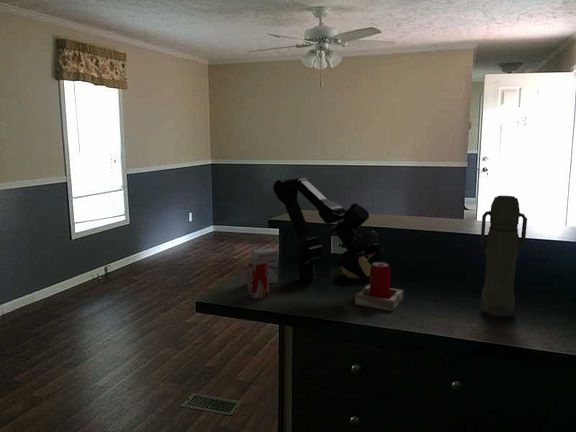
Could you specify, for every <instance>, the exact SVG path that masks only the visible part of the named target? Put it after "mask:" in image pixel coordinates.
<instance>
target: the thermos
mask: <svg viewBox="0 0 576 432" xmlns="http://www.w3.org/2000/svg"><path fill="white" fill-rule="evenodd" d="M520 211H521V209H520V204H519V199H518V198H517V197H515V196H513V195H497V196H494V198H493V199H492V202H491V206H490V210H489V211H485V212H484V213H483V215H482V218H481V231H480V246H481V247H484V248H485V251H484V252H485V255H486V263H485V264H486V265H485V275H484V276H485V278H484V286H483V288H482V292H481V304H482V305H481V312H482V313H484V314H485V315H488V316H491V317H495V318H510V317H512V316H513V315H514V307H515V302H516V295H515V290H514V287H515V276H516V266H517V264H516V263H517V259H518V257H519V251H520V250H523V249H524V248H525V246H526V235H527V224H528V217H527V216H525V213H522V212H520ZM487 216H490V218H489V225H490V226H489V230H488V233H487V235H486V238H485V234H486V220H487V219H486V218H487ZM520 217H521V218H522V226H521V235H520V236H519V228H518V226H519V220H520ZM485 239H486V240H485Z"/></svg>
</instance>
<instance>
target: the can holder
mask: <svg viewBox="0 0 576 432" xmlns="http://www.w3.org/2000/svg"><path fill="white" fill-rule="evenodd" d="M403 300H404V289H400V288H392V287H390V298H389V299H385V298H379V297H373V296H370V284H367V285H366V286H365V287H364V288H362V289H361V290H360V291H358V292H357V293H356V294H355V300H354V301H355V302H354V303H355V305H357V306H363V307H367V308H368V307H369V308H374V309H381V310H385V311H392V312H394V310H395V309H396V308H397V307H398V305H399V304H401V302H402V301H403Z"/></svg>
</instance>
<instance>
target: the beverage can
mask: <svg viewBox="0 0 576 432" xmlns="http://www.w3.org/2000/svg"><path fill="white" fill-rule="evenodd" d="M369 276H370V277H369V285H370V296H373V297H379V298H385V299H389V298H390V288H391V267H390V264H389V263H388V262H385V261H381V262H374V263H372V266H371V268H370V275H369Z"/></svg>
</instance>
